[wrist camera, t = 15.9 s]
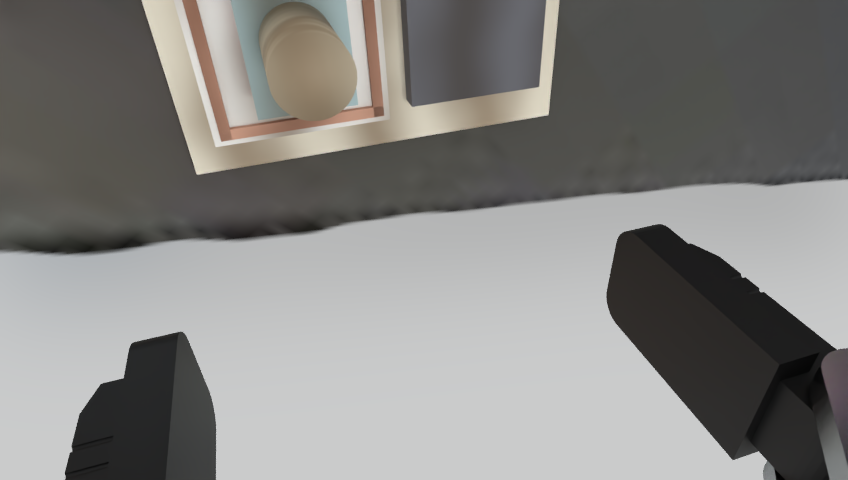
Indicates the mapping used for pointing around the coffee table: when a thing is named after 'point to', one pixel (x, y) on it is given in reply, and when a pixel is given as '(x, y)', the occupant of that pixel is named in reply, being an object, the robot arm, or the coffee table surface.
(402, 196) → the coffee table surface
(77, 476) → the robot arm
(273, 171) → the coffee table surface
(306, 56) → the rubber stamp
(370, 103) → the stamping board
